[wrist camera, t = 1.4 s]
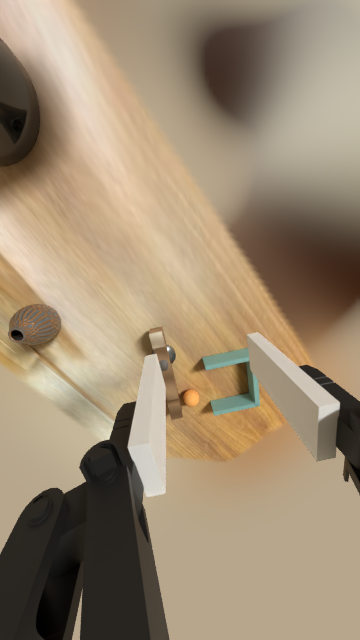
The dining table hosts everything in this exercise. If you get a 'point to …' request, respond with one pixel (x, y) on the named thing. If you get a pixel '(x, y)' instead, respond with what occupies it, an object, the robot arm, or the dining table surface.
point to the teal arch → (240, 400)
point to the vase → (34, 324)
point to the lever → (166, 371)
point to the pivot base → (170, 353)
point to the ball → (191, 398)
